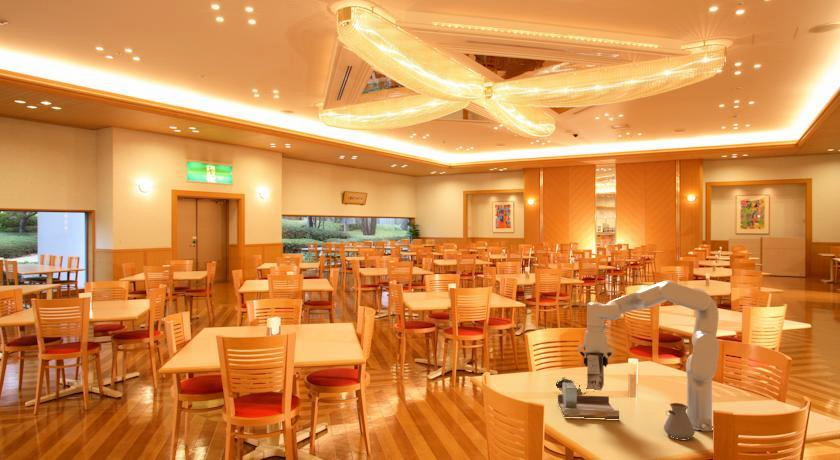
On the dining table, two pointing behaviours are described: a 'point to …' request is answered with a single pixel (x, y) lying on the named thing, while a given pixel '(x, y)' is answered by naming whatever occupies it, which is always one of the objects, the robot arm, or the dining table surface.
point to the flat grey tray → (590, 407)
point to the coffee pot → (678, 422)
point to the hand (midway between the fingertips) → (595, 365)
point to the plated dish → (567, 382)
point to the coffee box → (595, 371)
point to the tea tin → (569, 395)
